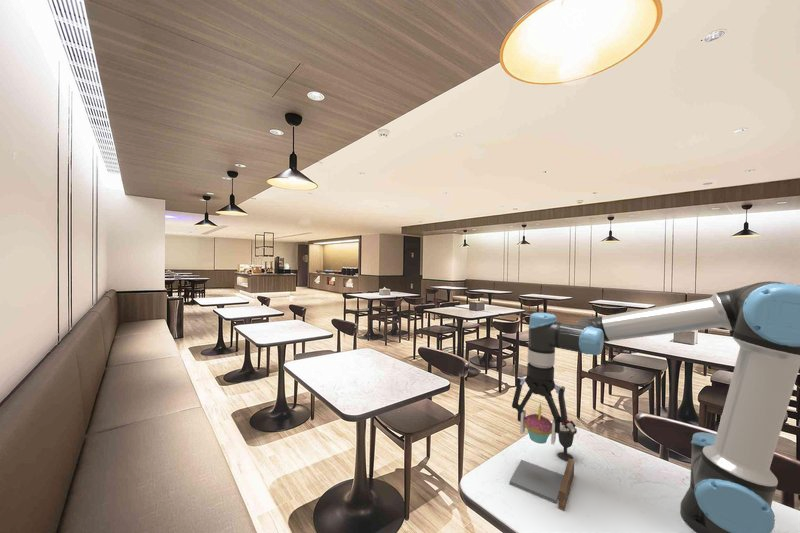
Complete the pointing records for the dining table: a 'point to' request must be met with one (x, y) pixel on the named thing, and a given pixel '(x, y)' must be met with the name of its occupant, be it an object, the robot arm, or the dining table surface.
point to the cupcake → (538, 427)
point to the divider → (566, 484)
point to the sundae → (566, 438)
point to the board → (537, 480)
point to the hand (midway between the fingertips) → (537, 436)
